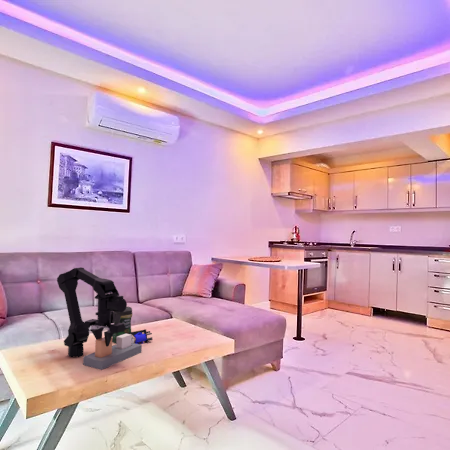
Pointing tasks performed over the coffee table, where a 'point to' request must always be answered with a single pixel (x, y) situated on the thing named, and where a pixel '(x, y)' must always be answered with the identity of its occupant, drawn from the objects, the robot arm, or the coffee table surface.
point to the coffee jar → (124, 319)
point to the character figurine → (140, 336)
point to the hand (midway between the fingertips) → (103, 345)
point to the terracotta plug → (102, 348)
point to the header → (112, 356)
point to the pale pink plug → (123, 341)
